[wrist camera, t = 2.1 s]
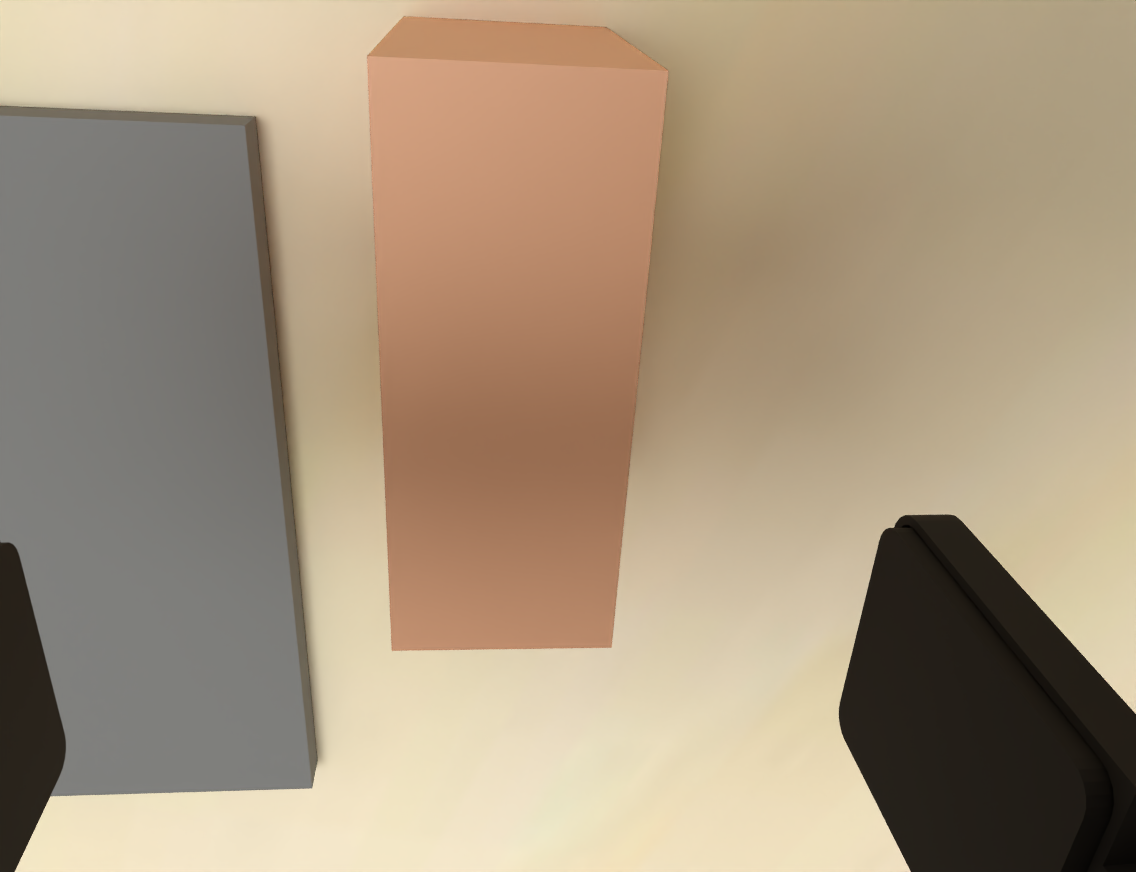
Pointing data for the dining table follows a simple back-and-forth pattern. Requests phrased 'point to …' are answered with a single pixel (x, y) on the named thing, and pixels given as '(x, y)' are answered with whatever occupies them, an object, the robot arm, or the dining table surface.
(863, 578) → the dining table surface
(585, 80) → the card box
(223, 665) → the mat
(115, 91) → the dining table surface
